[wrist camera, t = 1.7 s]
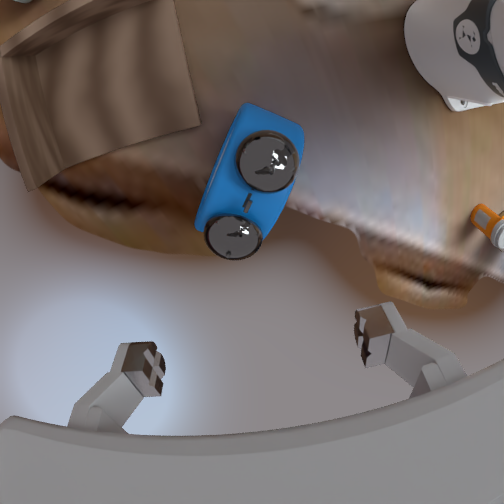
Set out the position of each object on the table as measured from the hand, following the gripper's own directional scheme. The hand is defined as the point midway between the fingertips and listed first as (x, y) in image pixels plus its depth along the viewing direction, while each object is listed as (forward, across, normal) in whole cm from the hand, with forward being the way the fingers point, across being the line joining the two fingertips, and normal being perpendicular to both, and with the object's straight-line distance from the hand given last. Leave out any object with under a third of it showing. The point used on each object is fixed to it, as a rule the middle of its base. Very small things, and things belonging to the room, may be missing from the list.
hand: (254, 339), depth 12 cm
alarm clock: (+27, 0, 0) cm, 27 cm away
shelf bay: (+27, +14, -14) cm, 33 cm away
